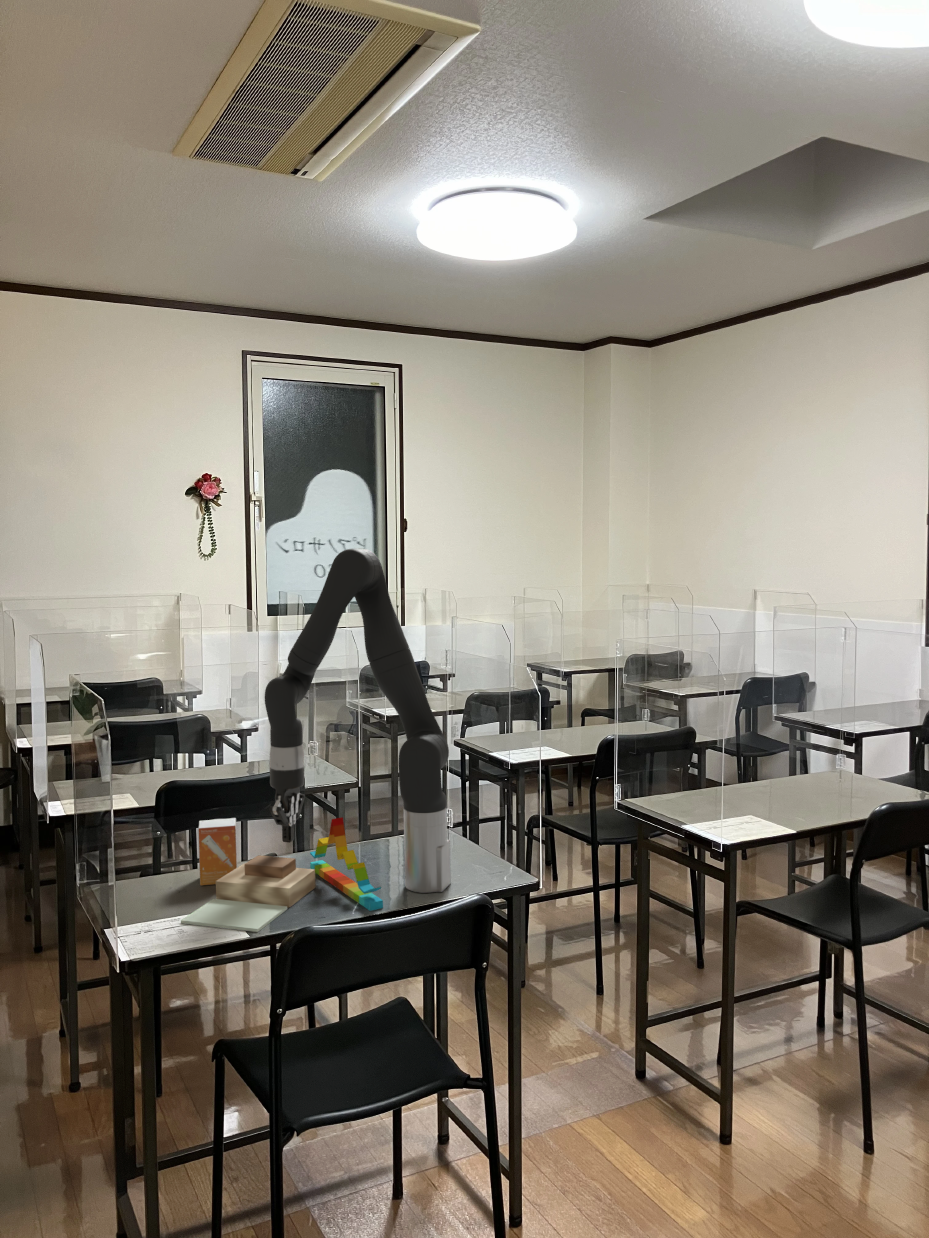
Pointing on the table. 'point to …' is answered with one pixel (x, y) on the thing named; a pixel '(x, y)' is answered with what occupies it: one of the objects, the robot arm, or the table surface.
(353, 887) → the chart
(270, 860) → the walnut tile
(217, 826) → the small box
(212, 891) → the table surface
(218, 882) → the birch deck
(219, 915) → the sage mat
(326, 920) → the table surface
